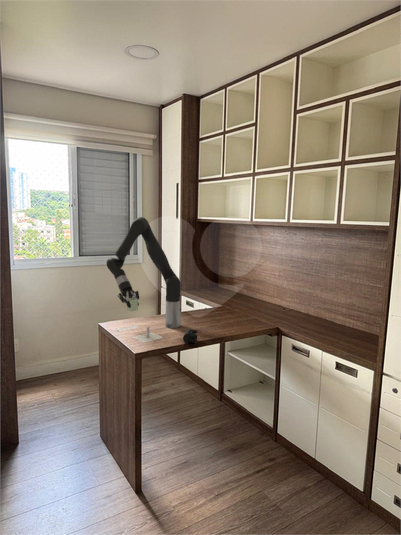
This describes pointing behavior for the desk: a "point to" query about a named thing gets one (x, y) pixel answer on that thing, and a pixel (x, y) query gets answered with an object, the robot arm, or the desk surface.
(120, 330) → the mat
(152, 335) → the peg stand
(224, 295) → the desk surface
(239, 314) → the desk surface
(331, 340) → the desk surface
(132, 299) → the sleeve
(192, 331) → the end cap
